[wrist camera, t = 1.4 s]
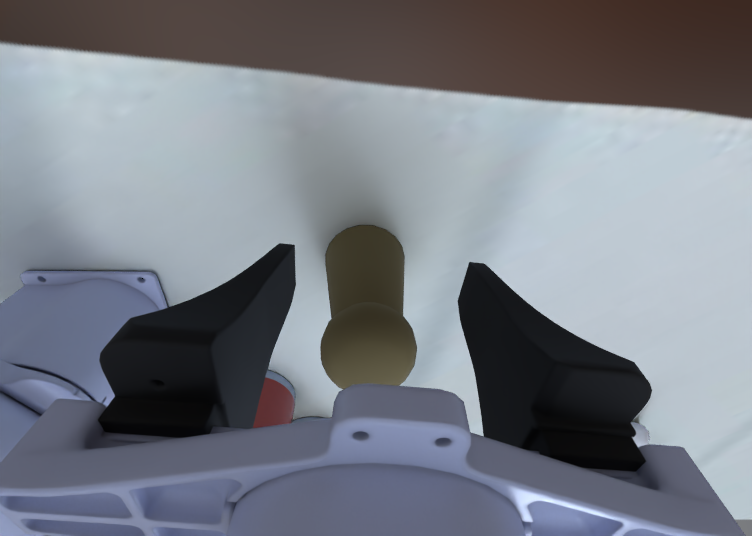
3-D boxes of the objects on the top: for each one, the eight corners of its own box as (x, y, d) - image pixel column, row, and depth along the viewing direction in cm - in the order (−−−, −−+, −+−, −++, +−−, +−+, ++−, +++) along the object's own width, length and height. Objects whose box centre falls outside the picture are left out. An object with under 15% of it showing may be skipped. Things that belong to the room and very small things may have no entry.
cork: (367, 208, 25) (374, 307, 16) (420, 262, 28) (453, 374, 18) (308, 259, 27) (283, 374, 18) (362, 305, 30) (366, 426, 20)
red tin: (241, 424, 37) (219, 499, 31) (201, 378, 33) (166, 454, 27) (308, 407, 36) (298, 481, 30) (275, 358, 32) (256, 432, 26)
